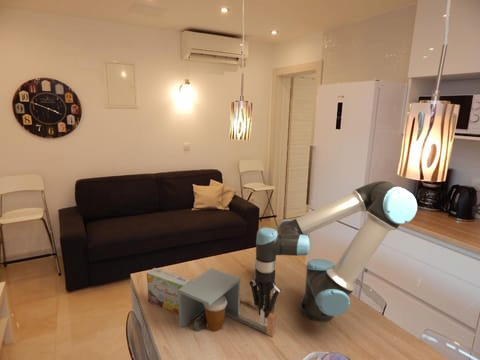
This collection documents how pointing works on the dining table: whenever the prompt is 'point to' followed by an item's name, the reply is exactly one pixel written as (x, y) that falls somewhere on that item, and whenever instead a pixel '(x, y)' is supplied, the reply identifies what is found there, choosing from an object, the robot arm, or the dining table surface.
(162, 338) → the dining table surface
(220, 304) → the disposable coffee cup
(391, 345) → the dining table surface
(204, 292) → the shelf cubby
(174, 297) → the snack box
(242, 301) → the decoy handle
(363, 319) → the dining table surface
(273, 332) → the wood-tipped metal rod
